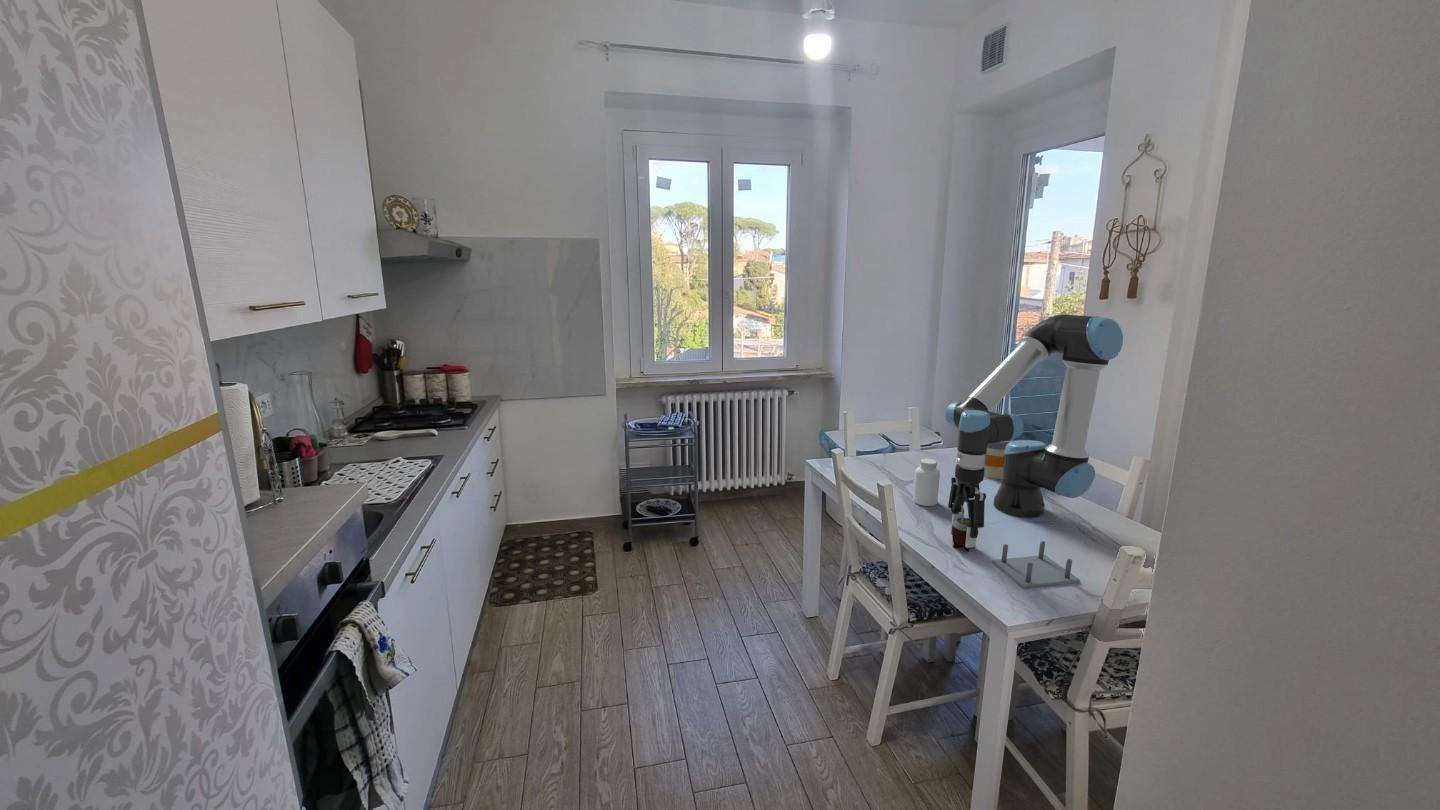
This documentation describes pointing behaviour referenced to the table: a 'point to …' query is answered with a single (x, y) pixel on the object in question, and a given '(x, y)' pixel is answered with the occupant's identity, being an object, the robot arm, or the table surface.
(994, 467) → the reusable coffee cup
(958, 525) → the mate gourd
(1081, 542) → the table surface
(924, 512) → the table surface
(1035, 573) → the tray
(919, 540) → the table surface
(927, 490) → the pill bottle
